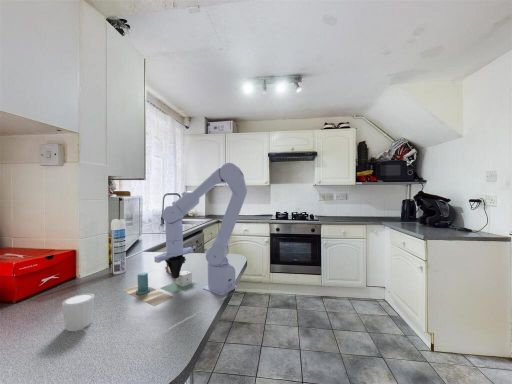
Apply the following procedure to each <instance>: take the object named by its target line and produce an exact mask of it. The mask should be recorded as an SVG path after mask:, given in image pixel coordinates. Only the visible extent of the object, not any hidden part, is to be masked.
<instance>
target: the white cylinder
mask: <svg viewBox="0 0 512 384" xmlns="http://www.w3.org/2000/svg"><path fill="white" fill-rule="evenodd" d="M95 296H96V295H95V294H94V293H81V294H77V295H74V296H70V297H68V298H66V299H64V300H63V301H62V302H61V305H62V312H63V318H64V325H65V326H64V327H65V331H66V330H68V331H74V332H79V331H81V330H84V329H85V328H86V327H88V326H90V325H91V324H92V323H93V321H94V320H93V319H94V309H95ZM78 330H79V331H78ZM68 331H67V332H68Z"/></svg>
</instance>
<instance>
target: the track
mask: <svg viewBox="0 0 512 384" xmlns="http://www.w3.org/2000/svg"><path fill="white" fill-rule="evenodd" d="M148 288H150V292H149V293H146V294H142V295H138V294H136V290H138V284H137V285H133V286H131V287H127V288H125V289H122V290H121V292H124V293H126V294H128V295H129V296H132V297H134V298H137V299H138V300H141V301H142V302H145V303H147V304H149V305H151V306H152V307H156V306H158V305H160V304H162V303H165V302H167V301H169V300H171V299H174V298H175V296H173V295H170V294H169V293H165V292H164V291H160V290H159V289H155V288H153V287H151V286H148Z"/></svg>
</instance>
